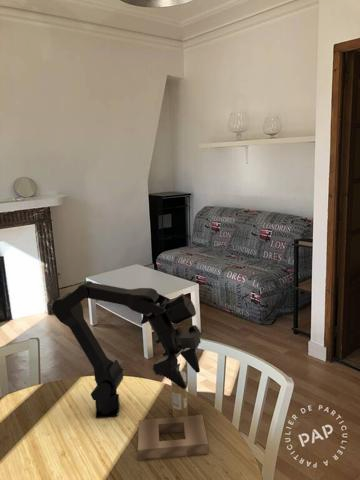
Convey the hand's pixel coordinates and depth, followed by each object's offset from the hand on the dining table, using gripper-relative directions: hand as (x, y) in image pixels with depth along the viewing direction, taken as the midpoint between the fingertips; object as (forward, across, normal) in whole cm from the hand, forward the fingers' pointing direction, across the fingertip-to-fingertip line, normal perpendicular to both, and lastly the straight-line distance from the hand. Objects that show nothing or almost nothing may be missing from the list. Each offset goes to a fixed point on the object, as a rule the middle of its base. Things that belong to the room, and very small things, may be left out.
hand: (191, 379), depth 116 cm
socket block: (+11, -8, +10) cm, 17 cm away
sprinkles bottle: (+10, +3, +12) cm, 16 cm away
